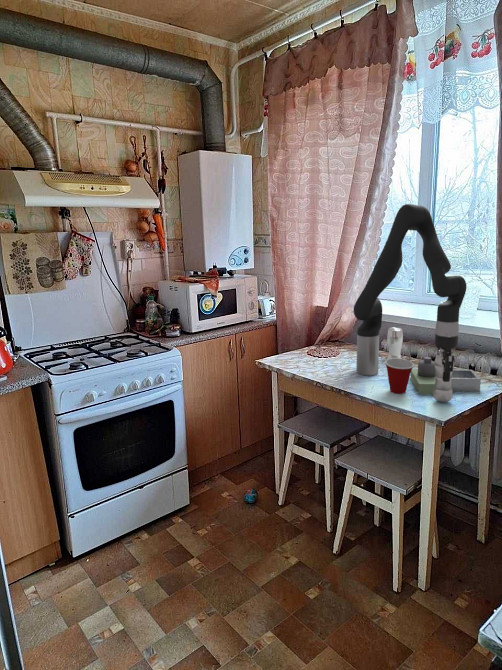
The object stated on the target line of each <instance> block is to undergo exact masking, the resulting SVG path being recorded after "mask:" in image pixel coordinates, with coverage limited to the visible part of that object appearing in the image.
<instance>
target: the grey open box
mask: <svg viewBox="0 0 502 670" xmlns="http://www.w3.org/2000/svg"><path fill="white" fill-rule="evenodd" d="M481 381H482V379H481V378H480V377H479V375H478V374H477V373H476V372H475V371H474V370H473V369H453V373H452V391H453V392H481Z"/></svg>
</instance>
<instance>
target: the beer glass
mask: <svg viewBox="0 0 502 670" xmlns="http://www.w3.org/2000/svg"><path fill="white" fill-rule="evenodd" d="M386 337H387V341H386V342H387V346H388V347H387V349H388V357H387V359H391V358H398V359H402V357H401V351H402V348H403V347H402V346H403V340H404V334H403V328H401V327H389V328H387V335H386Z"/></svg>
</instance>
